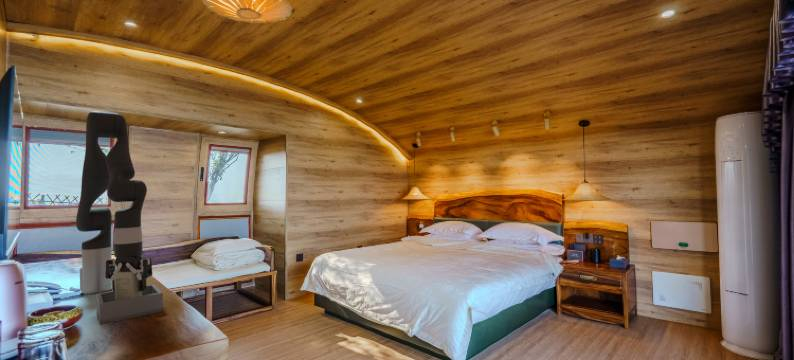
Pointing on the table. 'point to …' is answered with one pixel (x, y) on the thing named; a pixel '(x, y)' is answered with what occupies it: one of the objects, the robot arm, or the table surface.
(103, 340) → the table surface
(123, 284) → the skincare box
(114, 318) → the walled box
